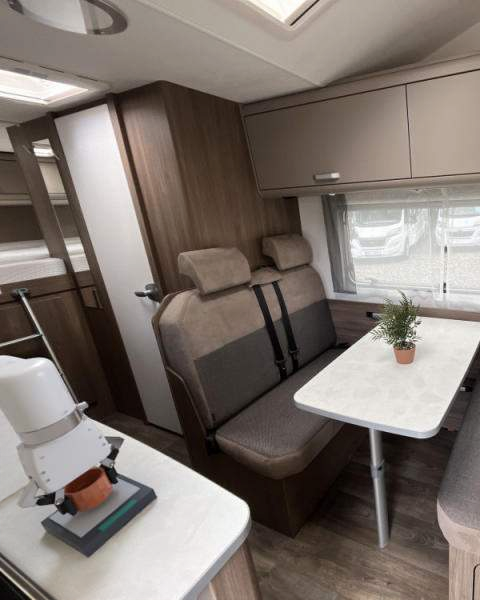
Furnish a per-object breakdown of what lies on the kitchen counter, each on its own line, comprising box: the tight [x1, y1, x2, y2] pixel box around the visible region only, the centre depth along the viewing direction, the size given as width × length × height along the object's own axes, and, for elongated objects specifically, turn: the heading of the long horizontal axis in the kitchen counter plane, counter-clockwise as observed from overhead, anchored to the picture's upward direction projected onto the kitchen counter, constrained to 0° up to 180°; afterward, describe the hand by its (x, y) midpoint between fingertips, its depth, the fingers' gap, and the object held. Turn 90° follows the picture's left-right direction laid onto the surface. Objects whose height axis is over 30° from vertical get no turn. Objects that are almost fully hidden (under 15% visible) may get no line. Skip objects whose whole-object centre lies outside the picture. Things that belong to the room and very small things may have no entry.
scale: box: [40, 472, 158, 558], centre depth 63 cm, size 14×12×3 cm
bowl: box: [64, 466, 113, 512], centre depth 61 cm, size 6×6×5 cm
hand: (92, 495), depth 62 cm, fingers closed on bowl, 6 cm apart
